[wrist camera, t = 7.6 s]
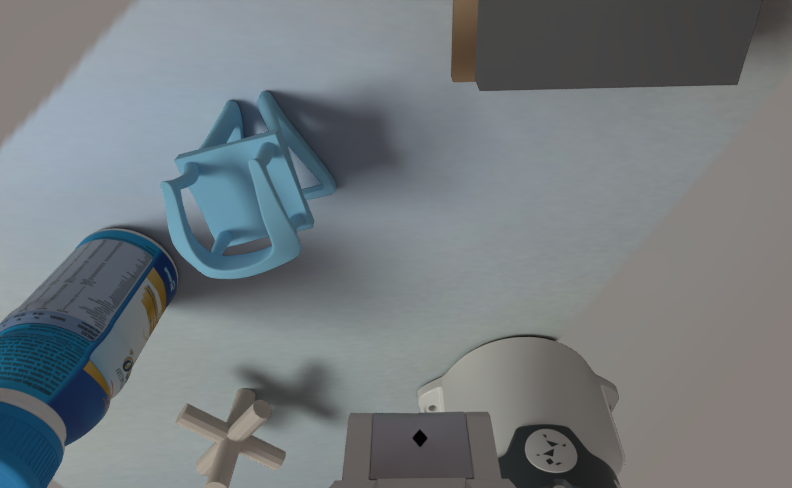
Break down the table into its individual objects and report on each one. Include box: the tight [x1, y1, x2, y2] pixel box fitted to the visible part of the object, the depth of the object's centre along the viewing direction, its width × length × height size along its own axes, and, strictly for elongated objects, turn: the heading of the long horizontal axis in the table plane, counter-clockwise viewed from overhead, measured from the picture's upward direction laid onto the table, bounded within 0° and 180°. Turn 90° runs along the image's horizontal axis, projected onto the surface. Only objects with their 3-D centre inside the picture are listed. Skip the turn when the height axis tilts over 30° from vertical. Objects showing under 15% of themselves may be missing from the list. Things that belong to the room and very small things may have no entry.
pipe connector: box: [176, 388, 286, 488], centre depth 48 cm, size 10×10×10 cm
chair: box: [160, 91, 336, 279], centre depth 34 cm, size 8×8×12 cm
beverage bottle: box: [0, 228, 178, 488], centre depth 36 cm, size 8×8×20 cm
